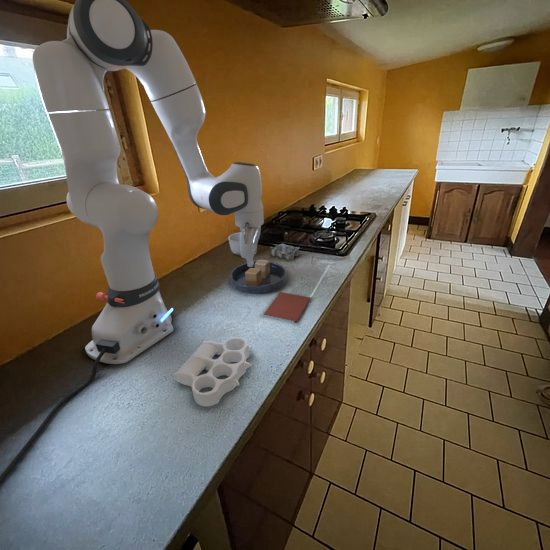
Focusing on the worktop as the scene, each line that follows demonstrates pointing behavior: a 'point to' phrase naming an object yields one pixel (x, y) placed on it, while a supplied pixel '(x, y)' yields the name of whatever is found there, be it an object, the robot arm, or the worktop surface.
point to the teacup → (235, 243)
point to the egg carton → (285, 251)
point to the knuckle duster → (214, 369)
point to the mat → (288, 306)
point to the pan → (268, 283)
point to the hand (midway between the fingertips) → (252, 259)
